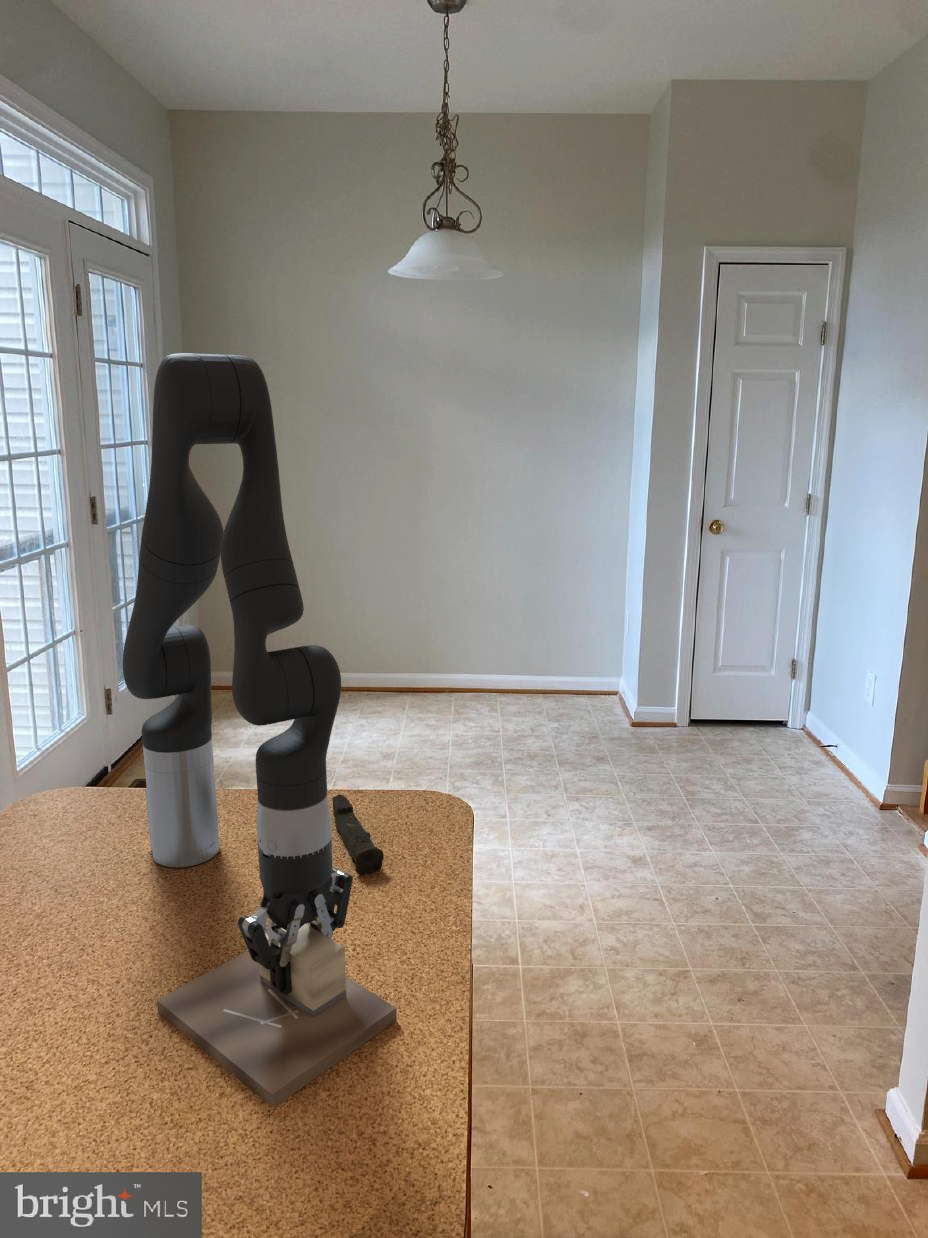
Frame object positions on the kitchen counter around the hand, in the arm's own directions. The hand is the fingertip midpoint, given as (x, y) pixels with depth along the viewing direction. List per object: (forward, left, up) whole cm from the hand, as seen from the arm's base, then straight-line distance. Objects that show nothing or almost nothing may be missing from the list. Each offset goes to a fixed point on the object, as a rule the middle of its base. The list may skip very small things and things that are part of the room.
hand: (301, 978), depth 97 cm
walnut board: (0, -3, -3) cm, 4 cm away
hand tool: (-23, +27, -3) cm, 35 cm away
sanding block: (0, 0, -1) cm, 1 cm away
